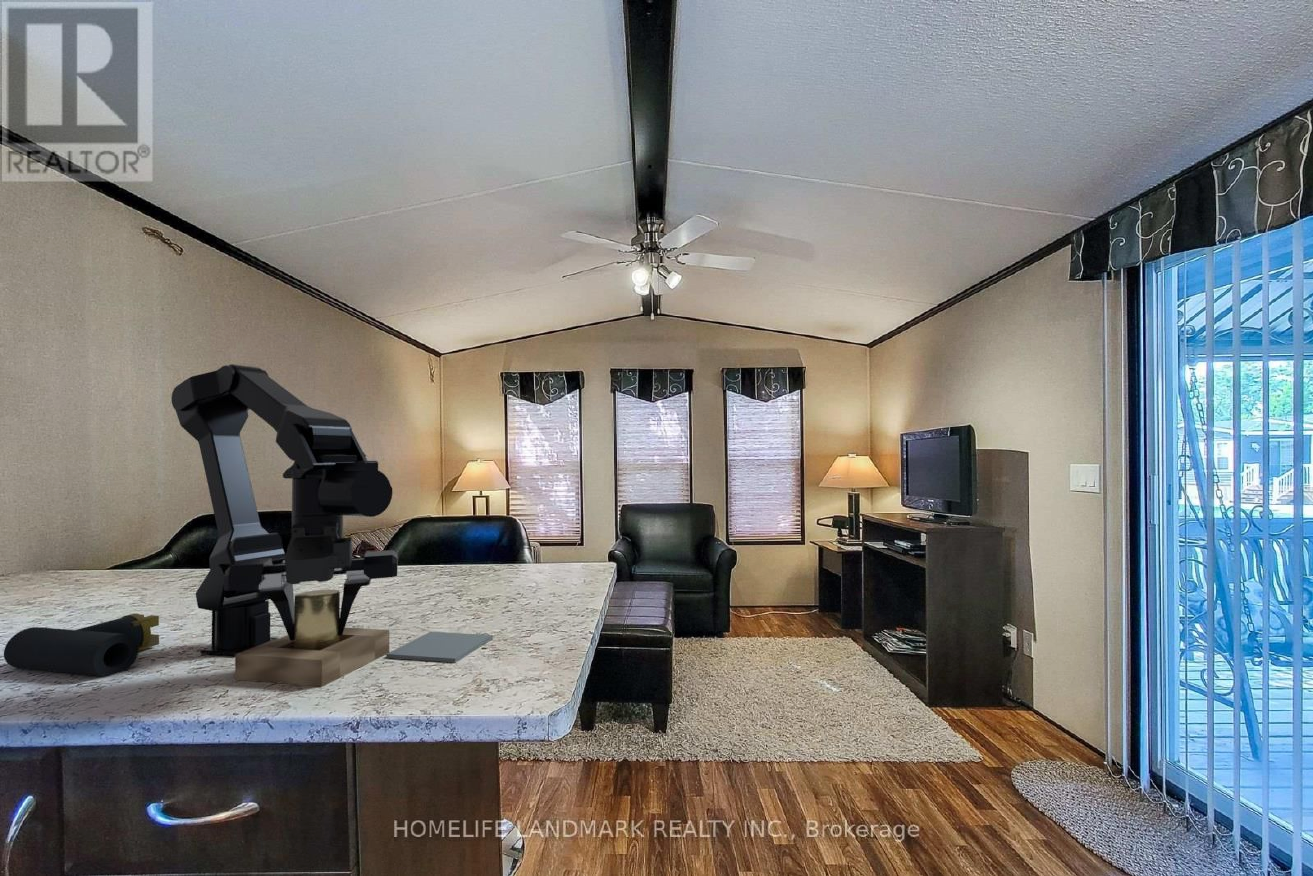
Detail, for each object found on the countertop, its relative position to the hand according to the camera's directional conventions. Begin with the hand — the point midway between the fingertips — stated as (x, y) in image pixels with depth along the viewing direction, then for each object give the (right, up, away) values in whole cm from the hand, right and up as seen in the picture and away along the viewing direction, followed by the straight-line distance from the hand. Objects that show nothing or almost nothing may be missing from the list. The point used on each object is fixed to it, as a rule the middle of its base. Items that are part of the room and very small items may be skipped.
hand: (317, 637), depth 75 cm
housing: (0, -4, 0) cm, 4 cm away
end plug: (0, -4, 0) cm, 4 cm away
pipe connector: (-30, -5, +3) cm, 31 cm away
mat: (+14, -4, +6) cm, 15 cm away
